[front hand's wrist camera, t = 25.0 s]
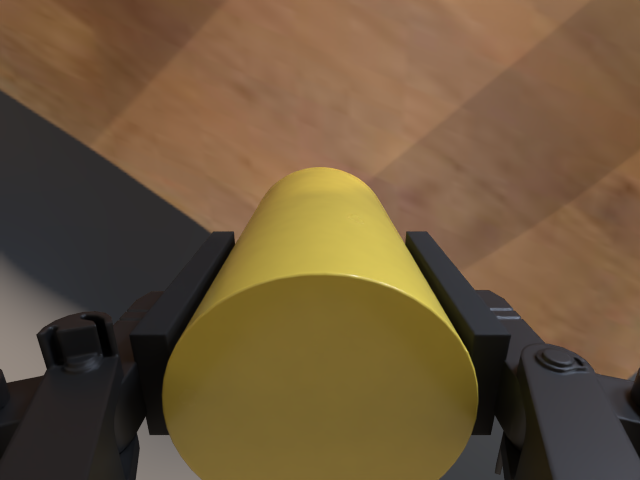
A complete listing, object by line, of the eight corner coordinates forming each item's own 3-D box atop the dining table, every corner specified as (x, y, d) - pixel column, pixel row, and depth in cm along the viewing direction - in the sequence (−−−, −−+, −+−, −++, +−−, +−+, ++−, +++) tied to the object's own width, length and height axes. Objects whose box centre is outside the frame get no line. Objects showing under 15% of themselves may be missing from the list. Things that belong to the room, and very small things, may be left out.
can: (230, 254, 18) (113, 454, 8) (296, 139, 16) (255, 205, 6) (340, 313, 19) (363, 556, 9) (413, 212, 18) (548, 373, 7)
